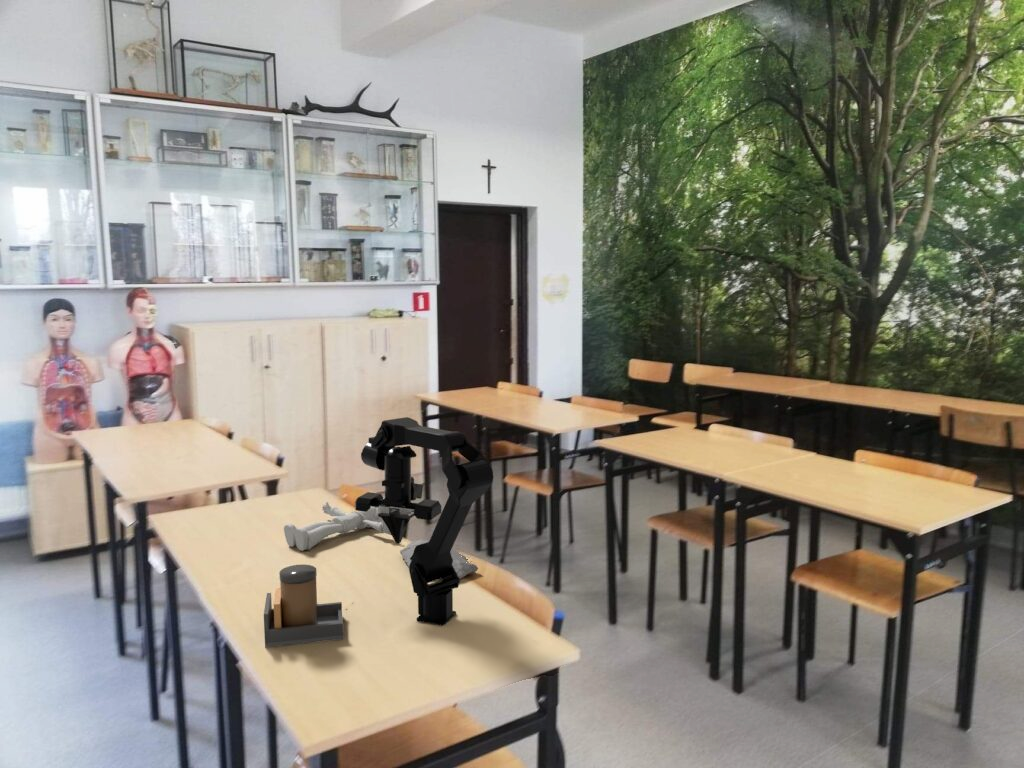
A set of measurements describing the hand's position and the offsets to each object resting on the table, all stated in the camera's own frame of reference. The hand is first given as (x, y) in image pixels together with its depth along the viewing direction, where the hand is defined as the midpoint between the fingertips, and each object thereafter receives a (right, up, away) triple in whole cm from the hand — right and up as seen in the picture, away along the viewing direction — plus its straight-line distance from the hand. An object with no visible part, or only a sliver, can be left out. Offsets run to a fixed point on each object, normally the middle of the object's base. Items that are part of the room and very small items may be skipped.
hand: (398, 542), depth 174 cm
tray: (-17, -15, -14) cm, 27 cm away
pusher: (-22, -14, -16) cm, 30 cm away
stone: (+6, -11, +22) cm, 25 cm away
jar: (-18, -14, -15) cm, 27 cm away
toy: (-23, -7, +45) cm, 51 cm away
